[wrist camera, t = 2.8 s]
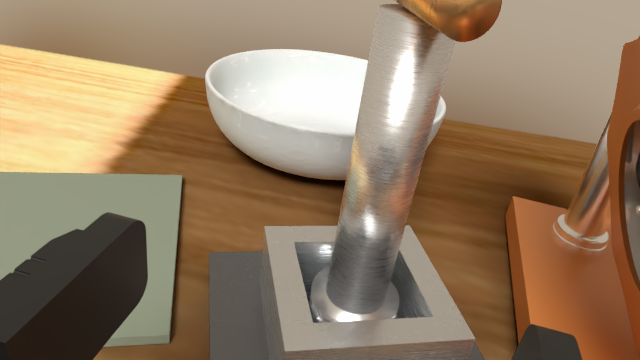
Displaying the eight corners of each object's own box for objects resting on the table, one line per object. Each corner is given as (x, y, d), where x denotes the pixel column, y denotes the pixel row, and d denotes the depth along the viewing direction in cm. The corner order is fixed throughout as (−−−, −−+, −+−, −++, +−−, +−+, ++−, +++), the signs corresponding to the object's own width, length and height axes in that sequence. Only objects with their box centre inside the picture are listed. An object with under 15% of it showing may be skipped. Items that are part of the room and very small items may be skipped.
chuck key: (407, 388, 24) (547, -21, 15) (317, 396, 23) (407, -39, 14) (367, 286, 30) (449, -51, 20) (295, 289, 29) (346, -66, 19)
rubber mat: (169, 343, 25) (169, 334, 25) (-212, 365, 22) (-218, 356, 21) (182, 181, 39) (182, 175, 39) (-53, 178, 35) (-55, 171, 35)
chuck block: (527, 461, 22) (569, 389, 20) (210, 503, 19) (213, 423, 17) (417, 260, 34) (435, 199, 32) (208, 265, 31) (210, 197, 28)
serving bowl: (459, 155, 50) (479, 90, 47) (357, 251, 34) (376, 164, 31) (293, 93, 59) (300, 35, 56) (152, 147, 43) (149, 71, 40)
